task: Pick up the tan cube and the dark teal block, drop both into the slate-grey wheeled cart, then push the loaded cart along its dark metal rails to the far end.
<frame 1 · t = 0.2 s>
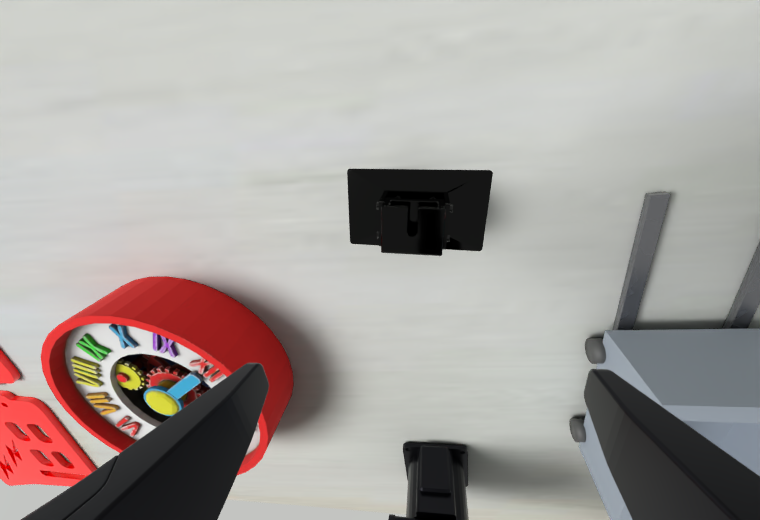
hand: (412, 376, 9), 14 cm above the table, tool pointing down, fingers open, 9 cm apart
black plastic bracket: (415, 207, 22), on the table
toy clock: (201, 358, 32), on the table
rails: (669, 340, 23), on the table
cart: (689, 427, 22), point 4 cm above the table, slide at 0.0 cm
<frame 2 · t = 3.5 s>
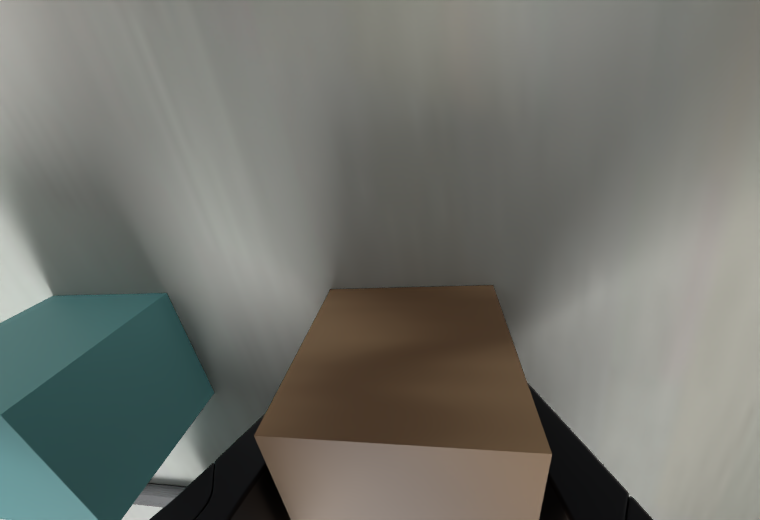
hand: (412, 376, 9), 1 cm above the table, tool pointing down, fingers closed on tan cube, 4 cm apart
teal block: (139, 345, 12), on the table
tan cube: (413, 349, 10), on the table, touching gripper
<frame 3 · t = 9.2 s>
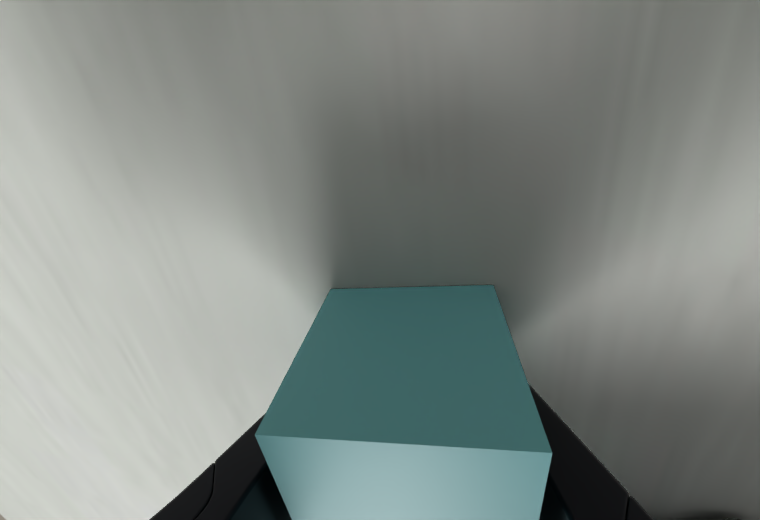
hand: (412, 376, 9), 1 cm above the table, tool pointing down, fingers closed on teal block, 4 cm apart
teal block: (413, 349, 10), on the table, touching gripper
when the fingers open (9 cm above the table, at t = 11.7 s): teal block drops 6 cm, resting on cart.
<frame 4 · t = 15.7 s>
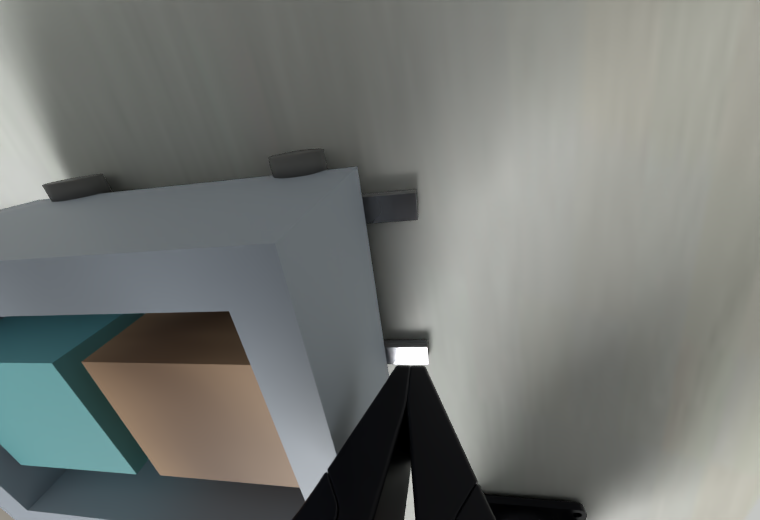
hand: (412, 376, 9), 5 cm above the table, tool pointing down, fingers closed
teal block: (154, 323, 13), point 2 cm above the table, touching cart
tan cube: (275, 320, 12), point 2 cm above the table, touching cart
rails: (183, 292, 15), on the table
cart: (189, 346, 11), point 4 cm above the table, slide at 1.3 cm, touching gripper, teal block, tan cube
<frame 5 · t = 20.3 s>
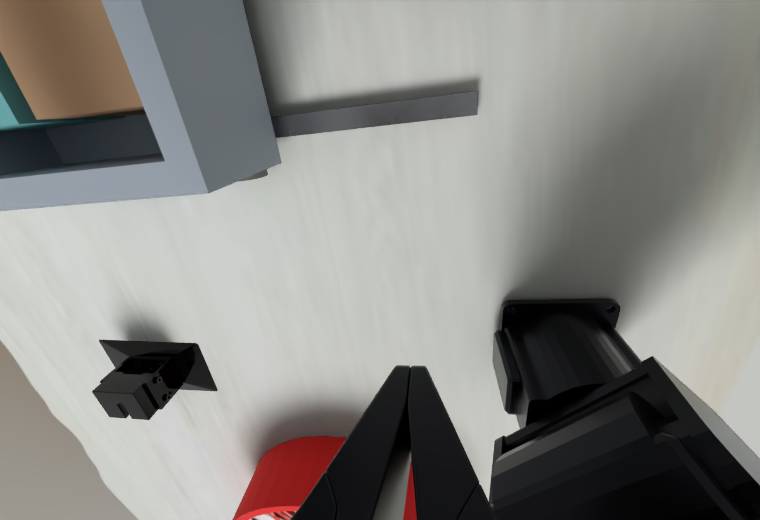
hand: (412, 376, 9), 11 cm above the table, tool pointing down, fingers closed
black plastic bracket: (166, 360, 28), on the table
toy clock: (348, 493, 33), on the table
teal block: (62, 71, 15), point 2 cm above the table, touching cart
tan cube: (160, 53, 14), point 2 cm above the table, touching cart
rails: (237, 53, 16), on the table
cart: (79, 59, 13), point 4 cm above the table, slide at 9.5 cm, touching teal block, tan cube
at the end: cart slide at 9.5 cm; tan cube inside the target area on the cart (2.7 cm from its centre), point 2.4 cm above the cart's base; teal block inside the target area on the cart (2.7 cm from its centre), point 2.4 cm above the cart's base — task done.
